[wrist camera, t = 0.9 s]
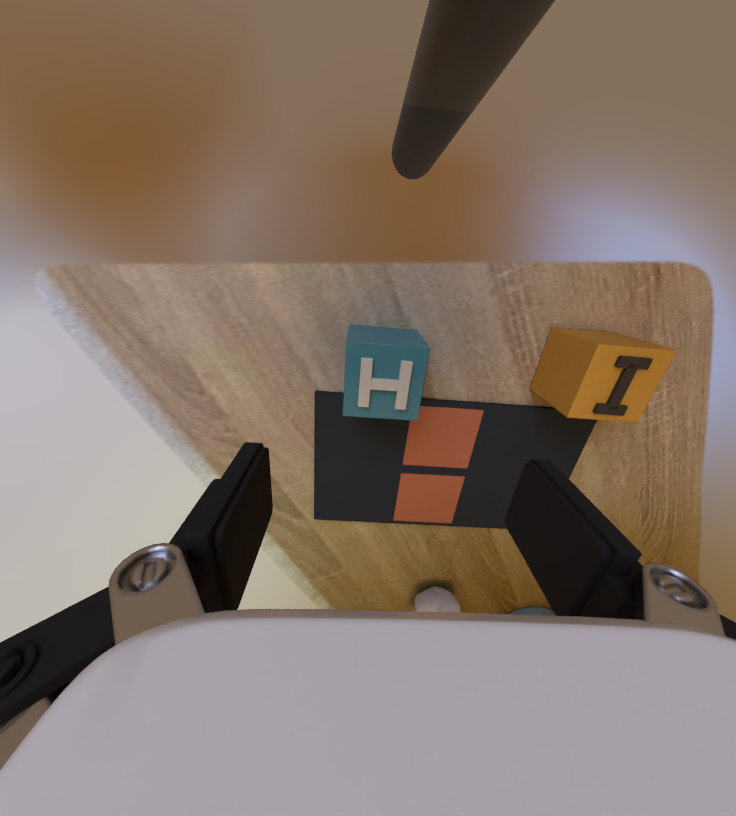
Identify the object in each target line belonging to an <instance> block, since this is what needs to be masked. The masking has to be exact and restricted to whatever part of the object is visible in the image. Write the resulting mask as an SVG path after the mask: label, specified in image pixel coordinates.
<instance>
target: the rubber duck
mask: <svg viewBox="0 0 736 816" xmlns="http://www.w3.org/2000/svg"><path fill="white" fill-rule="evenodd" d="M412 612H449V613H460V604H459V601H458V599H457V598H456V597H455V596H454V595H453V594H452V593H451V592H449V591H448V590H446V589H444V588H442V587H437V586H435V587H430V588H428V589H425V590H424V591H422V592H421V593H419V594H417V595H416V597H415V609H413V610H412Z"/></svg>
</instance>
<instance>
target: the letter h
mask: <svg viewBox="0 0 736 816" xmlns="http://www.w3.org/2000/svg"><path fill="white" fill-rule="evenodd" d="M429 352H430V347H429V346H428V344H427V343H426V342H425V341H424V339H423V338H422V337H421V335H420V334H419V333H418V331H417V330H409V329H397V328H385V327H372V326H360V325H350V327H349V331H348V336H347V341H346V359H345V379H344V398H343V416H352V417H368V418H383V419H398V420H413V421H417V419H418V413H419V408H420V402H421V397H422V391H423V385H424V380H425V374H426V369H427V363H428V357H429Z"/></svg>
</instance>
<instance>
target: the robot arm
mask: <svg viewBox="0 0 736 816" xmlns="http://www.w3.org/2000/svg"><path fill="white" fill-rule="evenodd" d="M272 508H273V504H272V490H271V476H270V461H269V450H268V448H264V446H263V444H262V443H249V442H246V443H244V444H243V446H242V447H241V449H240V450H239V452H238V453H237V455H236V456H235V458H234V459H233V461H232V462H231V464H230V465H229V467H228V469H227V470H226V472H225V473H224V475H223V476H222V478H221V479H215V480H213V481H212V482H211V483H210V485H209V486H208V488H207V489H206V491H205V492H204V494H203V495H202V496H201V498H200V499H199V501H198V502H197V504H196V505H195V507H194V508H193V509H192V511H191V512H190V514H189V515H188V516H187V518H186V519H185V521H184V522H183V524H182V525H181V527H180V528H179V530H178V531H177V532H176V534H175V535H174V537H173V538H172V540H171V541H170V543H169V544H168V543H161V544H154V545H151V546H148V547H144V548H142V549H140V550H139V551H136V552H134V553H133V554H131V555H130V556H128V557H127V558H126V559H124V560H123V561H122V562H121V563H120V564H119V565H118V566H117V568H116V569H115V570H114V572H113V574H112V575H111V578H110V580H109V587H107V588H105V589H103V590H101V591H99V592H97V593H96V594H93V595H92V596H90V597H88V598H86V599H84V600H82V601H80V602H78V603H76V604H74V605H72V606H70V607H68V608H66V609H64V610H62V611H61V612H59V613H57V614H55V615H53V616H51V617H49V618H47V619H46V620H43V621H41V622H39V623H37V624H36V625H33V626H32V627H30V628H28V629H26V630H24V631H22V632H20V633H18V634H16V635H14V636H12V637H10V638H8V639H6V640H4V641H3V642H1V643H0V816H736V623H735V622H733V621H731V620H729V619H728V618H726V617H724V616H722V615H720V614H719V612H718V609H717V606H716V604H715V602H714V600H713V598H712V597H711V596H710V595H709V593H708V592H707V591H706V590H705V589H704V588H703V587H702V586H701V585H699V584H698V583H697V582H696V581H695V580H693V579H692V578H690V577H689V576H687V575H686V574H684V573H682V572H680V571H679V570H677V569H675V568H672V567H670V566H667V565H665V564H661V563H656V562H650V563H646V564H645V565H643V566H642V565H641V564H640V563H639V562H638V559H639V558H640V556H641V555H642V554H641V552H640V551H639V550H638V549H637V548H636V547H635V546H634V545H633V544H632V543H631V542H630V541H629V540H628V539H627V538H626V537H625V536H624V535H623V534H622V533H621V532H620V531H619V530H618V529H617V528H616V527H615V526H614V525H613V524H612V523H611V522H610V521H609V520H608V519H607V518H606V517H605V516H604V515H603V514H602V513H601V512H600V511H599V510H598V509H597V508H596V507H595V506H594V505H593V504H592V503H591V502H590V500H589V499H588V498H587V497H586V496H585V495H584V494H583V493H582V492H581V491H580V490H579V489H578V488H577V487H576V486H575V485H574V484H573V483H572V482H571V481H570V480H569V479H568V478H567V477H566V476H565V475H564V474H563V473H562V472H561V471H560V470H559V469H558V468H557V467H556V466H555V465H554V464H553V463H552V462H551V461H550V460H542V459H532V460H530V461H529V463H526V464H525V465H524V468H523V470H522V473H521V476H520V478H519V481H518V484H517V486H516V489H515V492H514V494H513V497H512V500H511V503H510V505H509V508H508V511H507V513H506V516H505V524H506V527H507V529H508V531H509V533H510V534H511V536H512V538H513V540H514V542H515V543H516V545H517V547H518V549H519V550H520V552H521V554H522V556H523V558H524V559H525V561H526V563H527V565H528V566H529V568H530V570H531V572H532V574H533V575H534V577H535V579H536V581H537V583H538V584H539V586H540V588H541V590H542V591H543V593H544V595H545V597H546V599H547V600H548V602H549V604H550V606H551V608H552V609H553V611H554V613H555V615H556V616H546V615H517V614H484V613H449V612H412V611H370V610H324V609H248V610H237V609H238V607H239V604H240V601H241V599H242V596H243V593H244V590H245V587H246V584H247V582H248V579H249V576H250V573H251V571H252V568H253V565H254V562H255V560H256V557H257V554H258V551H259V549H260V546H261V543H262V540H263V537H264V535H265V532H266V529H267V526H268V524H269V521H270V518H271V515H272Z"/></svg>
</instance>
